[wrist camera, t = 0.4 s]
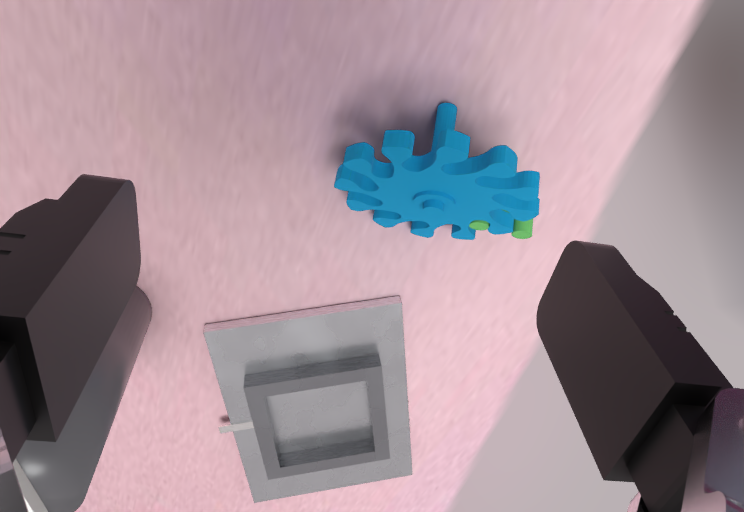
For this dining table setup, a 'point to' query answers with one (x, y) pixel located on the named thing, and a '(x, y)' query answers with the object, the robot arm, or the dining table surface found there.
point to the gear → (441, 184)
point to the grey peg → (84, 422)
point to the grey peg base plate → (316, 396)
